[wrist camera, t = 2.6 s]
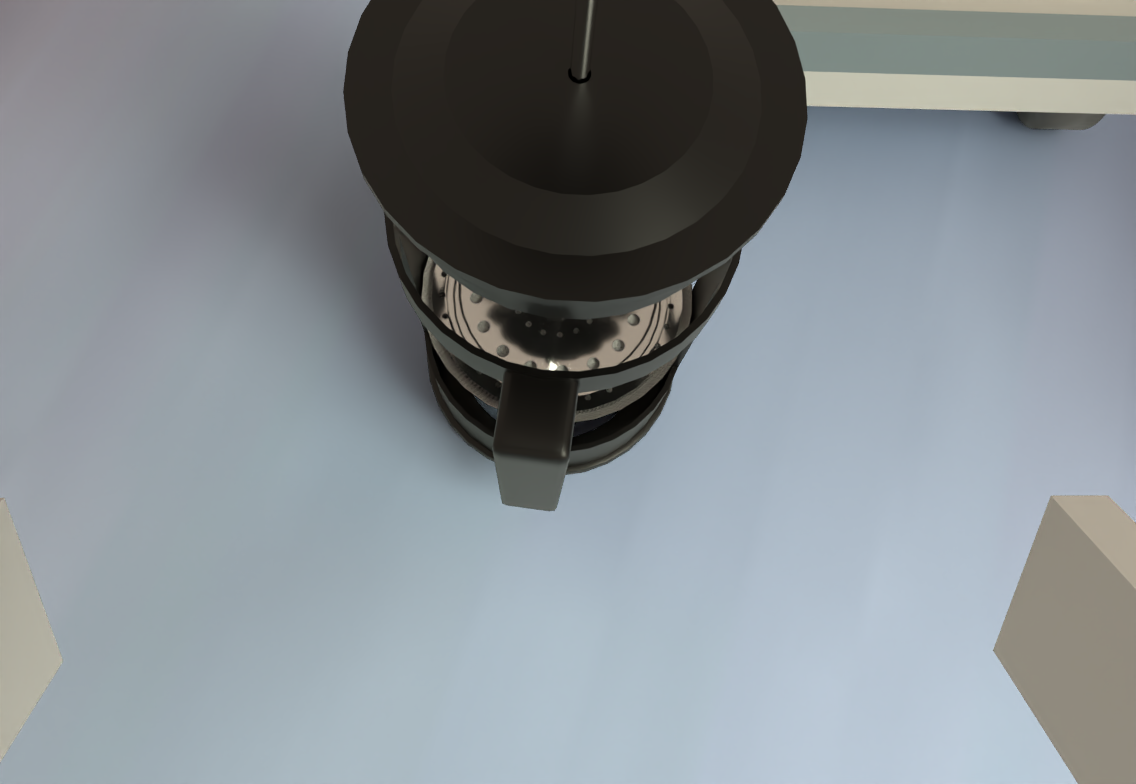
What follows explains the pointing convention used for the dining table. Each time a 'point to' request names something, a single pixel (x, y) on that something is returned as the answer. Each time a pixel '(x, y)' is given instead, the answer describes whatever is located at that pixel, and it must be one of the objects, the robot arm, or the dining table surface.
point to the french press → (569, 201)
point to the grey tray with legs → (970, 56)
